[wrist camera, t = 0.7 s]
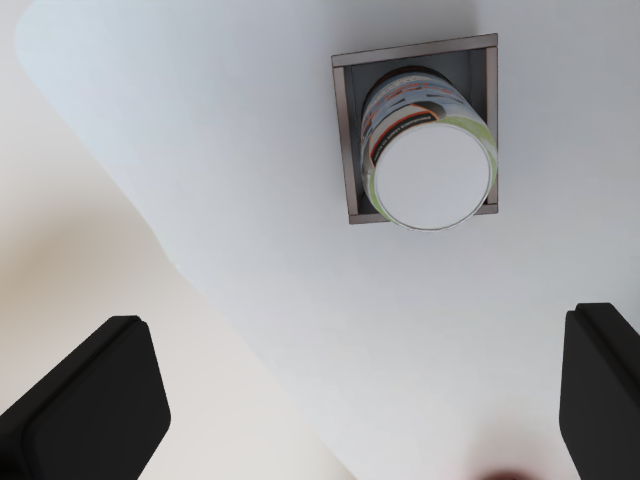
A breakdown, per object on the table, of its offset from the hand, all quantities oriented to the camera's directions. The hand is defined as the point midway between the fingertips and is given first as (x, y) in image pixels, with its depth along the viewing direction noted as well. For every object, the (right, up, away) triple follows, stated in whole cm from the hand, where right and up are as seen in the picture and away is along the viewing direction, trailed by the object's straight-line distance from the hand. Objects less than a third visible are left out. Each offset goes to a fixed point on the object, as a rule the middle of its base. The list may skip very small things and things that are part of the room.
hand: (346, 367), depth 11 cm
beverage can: (+5, +10, +20) cm, 23 cm away
